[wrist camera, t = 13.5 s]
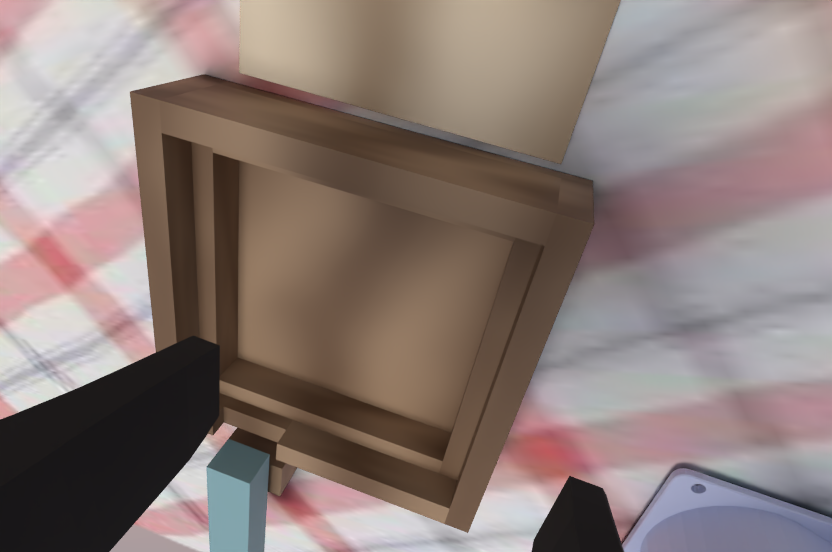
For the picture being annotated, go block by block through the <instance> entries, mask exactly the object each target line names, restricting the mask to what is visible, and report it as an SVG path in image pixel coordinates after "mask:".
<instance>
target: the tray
mask: <svg viewBox="0 0 832 552" xmlns="http://www.w3.org/2000/svg"><path fill="white" fill-rule="evenodd" d="M130 97H131V107H132V117H133V127H134V137H135V147H136V157H137V167H138V177H139V187H140V197H141V207H142V217H143V227H144V237H145V247H146V257H147V267H148V277H149V287H150V297H151V307H152V317H153V327H154V337H155V347H156V352H158V351H160V350H163V349H165V348H167V347H169V346H171V345H173V344H175V343H178V342H180V341H182V340H184V339H187V338H189V337H191V336H196V337H199V338H201V339H204V340H207V341H209V342H212V343H215V344H217V345H220V393H219V417H218V419H217V420H216V422H215V423H214V425H213V426H212V428H211V429H210V431H209V432H208V434H211V435H214V433H215V432H216V431H217V430H218V429H219V427H220V426H221V425H222V424H223V423H227V424H230V425H232V426H235V427H238V428H237V429H236V430H235V431H234V433H233V434H232V435H231V436H230V438H229V439H230V440H233V441H236V442H238V443H241V444H244V445H246V446H249V447H251V448H254V449H257V450H259V451H262V452H264V453H267V454H270V458H269V475H268V492H270V493H273V494H275V495H278V496H281V494H282V492H283V491H284V489H285V487H286V486H287V484H288V482H289V481H290V479H291V477H292V476H293V474H294V472H295V470H296V469H297V468H300V469H303V470H305V471H308V472H310V473H313V474H316V475H318V476H321V477H323V478H326V479H329V480H331V481H334V482H337V483H339V484H342V485H344V486H347V487H350V488H352V489H355V490H357V491H360V492H363V493H365V494H368V495H371V496H373V497H376V498H378V499H381V500H384V501H386V502H389V503H391V504H394V505H397V506H399V507H402V508H405V509H407V510H410V511H412V512H415V513H418V514H420V515H423V516H425V517H428V518H431V519H433V520H436V521H439V522H441V523H444V524H446V525H449V526H452V527H454V528H457V529H459V530H462V531H465V532H467V533H468V531H469V529H470V527H471V524H472V522H473V519H474V517H475V514H476V512H477V509H478V507H479V505H480V502H481V500H482V497H483V495H484V492H485V490H486V488H487V485H488V483H489V480H490V478H491V475H492V473H493V470H494V468H495V466H496V463H497V461H498V458H499V456H500V453H501V451H502V448H503V446H504V444H505V441H506V439H507V436H508V434H509V431H510V429H511V426H512V424H513V422H514V419H515V417H516V414H517V412H518V409H519V407H520V404H521V402H522V400H523V397H524V395H525V392H526V390H527V387H528V385H529V383H530V380H531V378H532V375H533V373H534V370H535V368H536V365H537V363H538V361H539V358H540V356H541V353H542V351H543V348H544V346H545V343H546V341H547V339H548V336H549V334H550V331H551V329H552V326H553V324H554V321H555V319H556V317H557V314H558V312H559V309H560V307H561V304H562V302H563V299H564V297H565V295H566V292H567V290H568V287H569V285H570V282H571V280H572V278H573V275H574V273H575V270H576V268H577V265H578V263H579V260H580V258H581V256H582V253H583V251H584V248H585V246H586V243H587V241H588V238H589V236H590V234H591V231H592V229H593V226H594V202H593V181H591V180H587V179H584V178H580V177H577V176H573V175H569V174H566V173H562V172H558V171H555V170H551V169H547V168H544V167H540V166H536V165H533V164H529V163H525V162H522V161H518V160H514V159H511V158H507V157H503V156H500V155H496V154H493V153H489V152H485V151H482V150H478V149H474V148H471V147H467V146H463V145H460V144H456V143H452V142H449V141H445V140H441V139H438V138H434V137H430V136H427V135H423V134H419V133H416V132H412V131H409V130H405V129H401V128H398V127H394V126H390V125H387V124H383V123H379V122H376V121H372V120H368V119H365V118H361V117H357V116H354V115H350V114H346V113H343V112H339V111H335V110H332V109H328V108H325V107H321V106H317V105H314V104H310V103H306V102H303V101H299V100H295V99H292V98H288V97H284V96H281V95H277V94H273V93H270V92H266V91H262V90H259V89H255V88H251V87H248V86H244V85H241V84H237V83H233V82H230V81H226V80H222V79H219V78H215V77H211V76H208V75H199V76H195V77H191V78H186V79H182V80H178V81H174V82H169V83H165V84H161V85H156V86H152V87H148V88H144V89H139V90H135V91H131V92H130Z"/></svg>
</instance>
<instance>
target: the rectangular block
mask: <svg viewBox="0 0 832 552" xmlns="http://www.w3.org/2000/svg"><path fill="white" fill-rule="evenodd" d="M269 458H270V454H267V453H264V452H262V451H259V450H257V449H254V448H251V447H249V446H246V445H244V444H241V443H238V442H236V441H233V440H230V439H228V440H227V442H226V443H225V444H224V445H223V447H222V448H221V449H220V451H219V452H218V453H217V454H216V456H215V457H214V458H213V459H212V461H211V462H210V463H209V465H208V466H207V490H208V515H209V541H210V552H264V544H265V527H266V510H267V492H268V475H269Z"/></svg>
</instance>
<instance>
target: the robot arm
mask: <svg viewBox="0 0 832 552" xmlns="http://www.w3.org/2000/svg"><path fill="white" fill-rule="evenodd" d="M219 393H220V345H217V344H215V343H212V342H209V341H207V340H204V339H201V338H199V337H196V336H191V337H189V338H187V339H184V340H182V341H180V342H178V343H175V344H173V345H171V346H169V347H167V348H165V349H163V350H160V351H158V352H156V353H154V354H152V355H150V356H148V357H145V358H143V359H141V360H139V361H137V362H135V363H133V364H130V365H128V366H126V367H124V368H122V369H120V370H117V371H115V372H113V373H111V374H109V375H106V376H104V377H102V378H100V379H97V380H95V381H93V382H91V383H89V384H86V385H84V386H82V387H80V388H77V389H75V390H73V391H70V392H68V393H65V394H63V395H60V396H58V397H55V398H53V399H51V400H48V401H46V402H43V403H41V404H38V405H36V406H33V407H31V408H29V409H26V410H24V411H21V412H19V413H16V414H14V415H11V416H9V417H6V418H3V419H1V420H0V552H109V551H110V550H111V549H112V548H113V547H114V546H115V545H116V544H117V542H118V541H119V540H120V539H121V538H122V537H123V536H124V534H125V533H126V532H127V531H128V530H129V529H130V527H131V526H132V525H133V524H134V523H135V522H136V521H137V520H138V518H139V517H140V516H141V515H142V514H143V513H144V512H145V510H146V509H147V508H148V507H149V506H150V505H151V504H152V502H153V501H154V500H155V499H156V498H157V497H158V496H159V494H160V493H161V492H162V491H163V490H164V489H165V488H166V486H167V485H168V484H169V483H170V482H171V481H172V479H173V478H174V477H175V476H176V475H177V474H178V472H179V471H180V470H181V469H182V468H183V467H184V465H185V464H186V463H187V462H188V461H189V460H190V458H191V457H192V455H193V454H194V453H195V451H196V450H197V448H198V447H199V445H200V444H201V443H202V441H203V440H204V438H205V437H206V435H207V434H208V432H209V431H210V429H211V428H212V426H213V425H214V423H215V422H216V420H217V419H218V417H219ZM695 484H701V485H698V486H697V485H695ZM532 552H832V518H830V517H827V516H824V515H822V514H819V513H816V512H813V511H810V510H807V509H804V508H801V507H798V506H795V505H792V504H789V503H787V502H784V501H781V500H778V499H775V498H772V497H769V496H766V495H763V494H760V493H757V492H755V491H752V490H749V489H746V488H743V487H740V486H737V485H734V484H731V483H728V482H725V481H722V480H720V479H717V478H714V477H711V476H708V475H705V474H702V473H699V472H696V471H693V470H690V469H686V468H679V469H677V470H674V471H673V472H672V473H671V474H670V476H669V477H668V479H667V480H666V482H665V483H664V485H663V486H662V487H661V489H660V490H659V492H658V493H657V495H656V496H655V498H654V499H653V500H652V502H651V503H650V505H649V506H648V508H647V509H646V511H645V512H644V513H643V515H642V516H641V518H640V519H639V521H638V522H637V524H636V525H635V527H634V528H633V529H632V531H631V532H630V534H629V535H628V537H627V538H626V540H625V541H624V542H623V544H621V541H620V538H619V535H618V532H617V528H616V525H615V522H614V519H613V516H612V513H611V509H610V506H609V503H608V500H607V496H606V494H605V492H604V490H603V488H601V487H598V486H595V485H593V484H590V483H587V482H585V481H582V480H579V479H576V478H574V477H571V476H569V478H568V480H567V481H566V483H565V485H564V487H563V489H562V490H561V492H560V494H559V496H558V498H557V499H556V501H555V503H554V505H553V507H552V508H551V510H550V512H549V514H548V516H547V517H546V519H545V521H544V523H543V524H542V526H541V528H540V530H539V532H538V533H537V535H536V537H535V539H534V542H533V548H532Z"/></svg>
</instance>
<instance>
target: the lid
mask: <svg viewBox="0 0 832 552" xmlns="http://www.w3.org/2000/svg"><path fill="white" fill-rule="evenodd" d="M620 1H621V0H240V44H239V73H241V74H245V75H248V76H252V77H256V78H259V79H263V80H266V81H270V82H273V83H277V84H280V85H284V86H287V87H291V88H294V89H298V90H301V91H305V92H308V93H312V94H315V95H319V96H322V97H326V98H330V99H333V100H337V101H340V102H344V103H347V104H351V105H354V106H358V107H361V108H365V109H368V110H372V111H375V112H379V113H382V114H386V115H389V116H393V117H396V118H400V119H403V120H407V121H411V122H414V123H418V124H421V125H425V126H428V127H432V128H435V129H439V130H442V131H446V132H449V133H453V134H456V135H460V136H463V137H467V138H470V139H474V140H477V141H481V142H485V143H488V144H492V145H495V146H499V147H502V148H506V149H509V150H513V151H516V152H520V153H523V154H527V155H530V156H534V157H537V158H541V159H544V160H548V161H551V162H555V163H558V164H561V163H562V160H563V158H564V155H565V152H566V149H567V147H568V144H569V141H570V138H571V136H572V133H573V130H574V127H575V125H576V122H577V119H578V116H579V114H580V111H581V108H582V105H583V103H584V100H585V97H586V94H587V92H588V89H589V86H590V83H591V81H592V78H593V75H594V72H595V69H596V67H597V64H598V61H599V58H600V56H601V53H602V50H603V47H604V45H605V42H606V39H607V36H608V34H609V31H610V28H611V25H612V23H613V20H614V17H615V14H616V12H617V9H618V6H619V3H620Z"/></svg>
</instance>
